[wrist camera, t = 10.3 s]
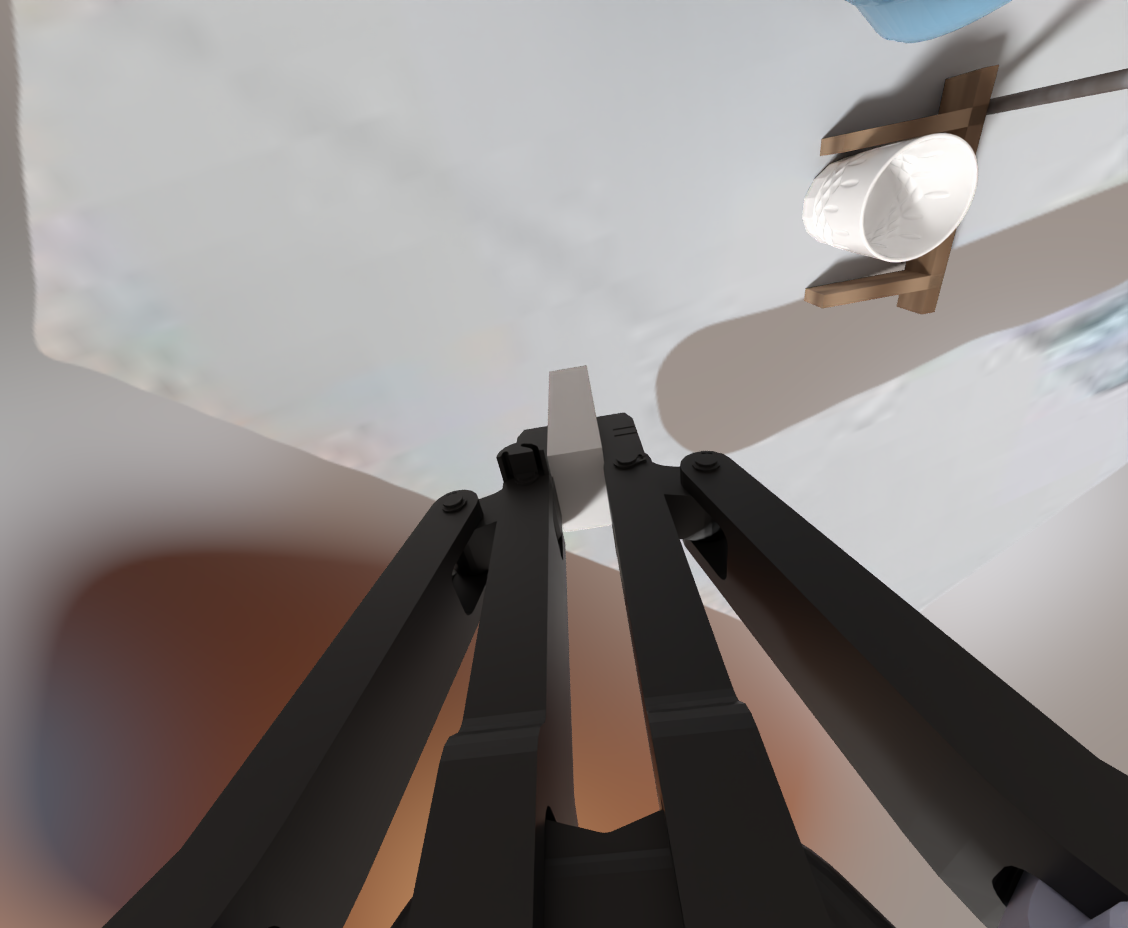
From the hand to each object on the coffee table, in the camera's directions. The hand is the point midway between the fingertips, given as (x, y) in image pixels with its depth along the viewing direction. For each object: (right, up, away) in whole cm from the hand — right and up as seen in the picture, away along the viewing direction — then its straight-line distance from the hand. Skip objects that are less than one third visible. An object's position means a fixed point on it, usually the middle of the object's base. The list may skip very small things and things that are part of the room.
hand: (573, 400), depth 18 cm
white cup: (+25, +21, +22) cm, 39 cm away
